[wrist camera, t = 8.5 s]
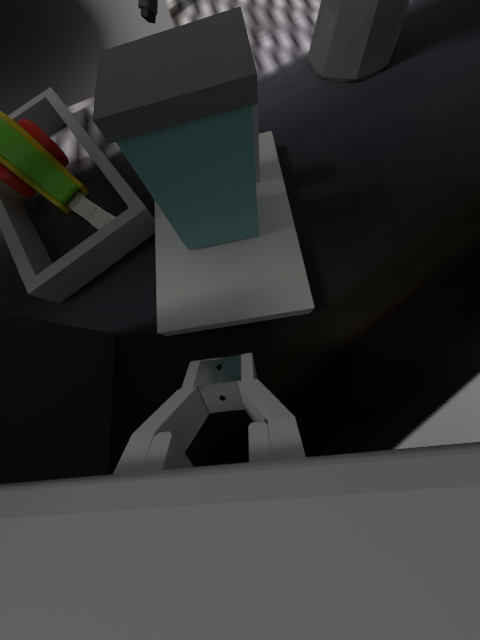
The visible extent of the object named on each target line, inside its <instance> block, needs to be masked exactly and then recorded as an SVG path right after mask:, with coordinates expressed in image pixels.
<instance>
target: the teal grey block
mask: <svg viewBox="0 0 480 640" xmlns="http://www.w3.org/2000/svg"><path fill="white" fill-rule="evenodd" d="M255 104H258V100H257V73H256V68H255V64H254V60H253V56H252V52H251V48H250V44H249V40H248V35H247V31H246V27H245V23H244V19H243V15H242V11H241V7H238V8H234V9H231V10H228V11H225V12H222V13H219V14H216V15H213V16H210V17H206V18H203V19H200V20H197V21H194V22H191V23H188V24H185V25H182V26H178V27H175V28H172V29H169V30H166V31H163V32H160V33H157V34H153V35H150V36H147V37H144V38H141V39H138V40H135V41H132V42H129V43H125V44H123V45H119V46H116V47H113V48H110V49H107V50H104V51H101V52H99V61H98V71H97V81H96V92H95V102H94V112H93V121H94V123H95V124H96V125H97V127H98V128H99V130H100V131H101V133H102V134H103V135H104V137H105V138H106V140H107V141H108V143H109V144H110V143H114V142H116V143H117V145H118V146H119V148H120V149H121V151H122V152H123V154H124V155H125V157H126V158H127V160H128V161H129V163H130V164H131V166H132V167H133V169H134V170H135V172H136V173H137V175H138V176H139V178H140V179H141V181H142V182H143V184H144V185H145V187H146V188H147V190H148V191H149V193H150V194H151V196H152V197H153V199H154V200H155V202H156V203H157V205H158V206H159V207H160V209H161V210H162V212H163V213H164V215H165V216H166V218H167V219H168V221H169V222H170V224H171V225H172V227H173V228H174V230H175V231H176V233H177V234H178V236H179V237H180V239H181V240H182V242H183V243H184V245H185V246H186V248H187V249H188V250H190V249H195V248H200V247H205V246H210V245H215V244H220V243H225V242H230V241H235V240H240V239H245V238H250V237H255V236H259V233H258V214H257V194H256V174H255V154H254V134H253V114H252V105H255Z"/></svg>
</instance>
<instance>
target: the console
mask: <svg viewBox="0 0 480 640" xmlns="http://www.w3.org/2000/svg"><path fill="white" fill-rule="evenodd" d="M257 100H258V92H257ZM252 114H253V134H254V154H255V174H256V194H257V214H258V233H259V236H255V237H250V238H245V239H240V240H235V241H230V242H225V243H220V244H215V245H210V246H205V247H200V248H195V249H190V250H188V249H187V248H186V246H185V245H184V243H183V242H182V240H181V239H180V237H179V236H178V234H177V233H176V231H175V230H174V228H173V227H172V225H171V224H170V222H169V221H168V219H167V218H166V216H165V215H164V213H163V212H162V210H161V209H160V207H159V206H158V205H157V203H156V202H155V245H156V294H157V333H158V334H162V335H165V336H171V335H177V334H183V333H189V332H196V331H202V330H208V329H215V328H221V327H227V326H234V325H240V324H246V323H252V322H259V321H265V320H271V319H278V318H284V317H290V316H297V315H303V314H309V313H311V311H312V310H313V309H314V308H315V307H314V303H313V299H312V295H311V291H310V287H309V283H308V279H307V275H306V271H305V266H304V262H303V258H302V254H301V250H300V246H299V242H298V238H297V234H296V230H295V226H294V221H293V217H292V213H291V209H290V205H289V201H288V197H287V193H286V189H285V185H284V181H283V176H282V172H281V168H280V164H279V160H278V156H277V152H276V148H275V144H274V140H273V136H272V131H269V132H265V133H261V134H259V128H258V104H255V105H252Z"/></svg>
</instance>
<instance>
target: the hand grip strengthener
mask: <svg viewBox="0 0 480 640" xmlns="http://www.w3.org/2000/svg"><path fill="white" fill-rule="evenodd" d="M157 1H158V0H138V6H139V8H140V9H141V16H142V17H143V18H144V19H146V20H147V21H148V22H149V23H155V19H156V14H157Z"/></svg>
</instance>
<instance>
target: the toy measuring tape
mask: <svg viewBox="0 0 480 640" xmlns="http://www.w3.org/2000/svg"><path fill="white" fill-rule="evenodd" d="M68 163H69V161H68V158H67V156H66V155H65V154H64V152H63V151H62V150H61V149H60V148H59V147H58V146H57V144H56V143H55V142H54V141H53V140H52V139H51V138H50V137H49V136H48V135H47V134H46V133H44V132H43V131H42V130H41V129H40V128H39V127H38V126H37V125H36V124H34V123H33V122H32V121H30V120H28V119H20V120H19V121H17V123H16V122H15V121H14V120H12V119H11V118H10V117H9V116H7V115H6V114H5V113H3V112H2V111H0V180H1V181H2V182H4V183H5V184H6V185H8V186H9V187H11V188H12V189H13V190H15V191H16V192H18V193H19V194H21V195H22V196H24V197H27V198H32V197H33V196H34V195H35V194H36V192H39V193H40V194H41V195H42V196H44V197H45V198H46V199H48V200H49V201H50V202H51V203H53V204H54V205H55V206H57V207H58V208H59V209H61V210H62V211H63V212H64V213H66V214H68V213H70V212H71V211H72V210H73V211H74V212H76V213H77V214H78V215H80V216H81V217H83V218H84V219H86V220H87V221H88V222H89V223H90V224H91V225H92V226H94V227H95V228H97V229H98V230H99V229H101V228H102V227H104V226H105V225H106V224H108V223H109V222H110V221H112V220H113V219H115V218H116V217H115V216H113V215H112V214H110V213H108V212H106V211H105V210H103V209H102V208H101V207H99V206H97V205H96V204H94V203H93V202H91V201H90V200H89V199H87V198H86V196H87V195H88V194H89V193H90V191H89V190H88V189H87V188H86V187H85V186H84V185H83V184H82V183H81V182H80V181H79V180H78V179H77V178H75V177H74V176H73V175H72V174H71V173H70V172H69V171H68V170H67V169H66V168H65V167H66V166H67V165H68Z"/></svg>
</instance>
